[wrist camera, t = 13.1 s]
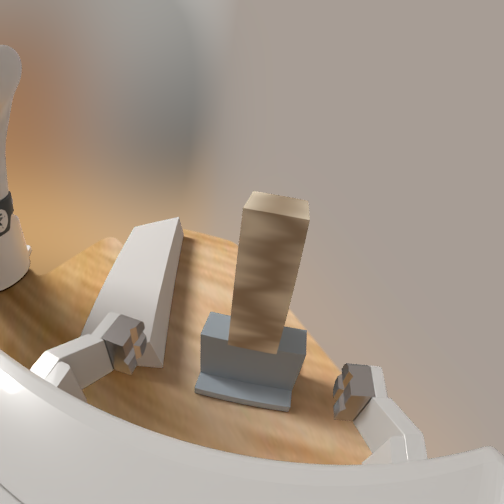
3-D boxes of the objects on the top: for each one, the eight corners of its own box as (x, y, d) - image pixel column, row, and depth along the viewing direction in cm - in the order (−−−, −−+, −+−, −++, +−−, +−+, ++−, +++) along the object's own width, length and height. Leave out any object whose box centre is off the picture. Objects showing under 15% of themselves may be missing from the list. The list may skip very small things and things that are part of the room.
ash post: (227, 344, 25) (243, 207, 19) (237, 314, 29) (253, 191, 23) (276, 354, 25) (309, 219, 19) (280, 322, 29) (308, 200, 23)
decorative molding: (94, 374, 29) (165, 369, 30) (75, 348, 27) (149, 342, 27) (141, 246, 59) (184, 237, 59) (134, 226, 56) (178, 217, 57)
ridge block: (194, 392, 27) (193, 350, 24) (213, 342, 34) (216, 299, 31) (288, 411, 26) (305, 373, 23) (292, 358, 33) (306, 316, 30)
